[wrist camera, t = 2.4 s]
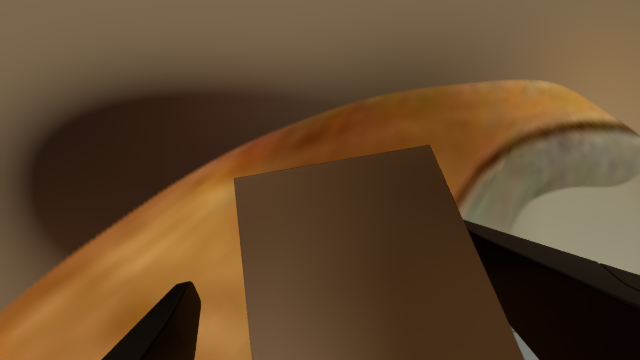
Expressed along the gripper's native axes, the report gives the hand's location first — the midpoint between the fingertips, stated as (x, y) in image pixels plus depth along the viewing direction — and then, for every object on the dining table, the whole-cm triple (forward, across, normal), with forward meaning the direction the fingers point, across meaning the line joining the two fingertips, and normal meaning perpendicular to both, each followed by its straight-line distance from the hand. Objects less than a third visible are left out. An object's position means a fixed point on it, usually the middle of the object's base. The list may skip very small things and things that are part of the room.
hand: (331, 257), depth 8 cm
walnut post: (+5, 0, +6) cm, 8 cm away
